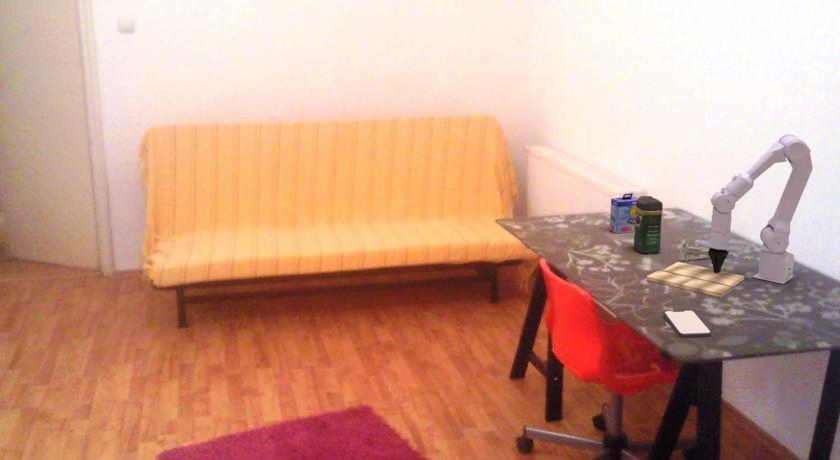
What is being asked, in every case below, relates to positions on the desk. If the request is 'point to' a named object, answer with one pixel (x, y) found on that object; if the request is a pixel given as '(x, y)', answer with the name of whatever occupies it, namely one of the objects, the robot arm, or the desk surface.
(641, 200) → the coffee jar
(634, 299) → the desk surface
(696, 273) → the loose plank
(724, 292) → the laid strip
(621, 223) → the ink cartridge box
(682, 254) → the caliper
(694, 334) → the smartphone with white screen
